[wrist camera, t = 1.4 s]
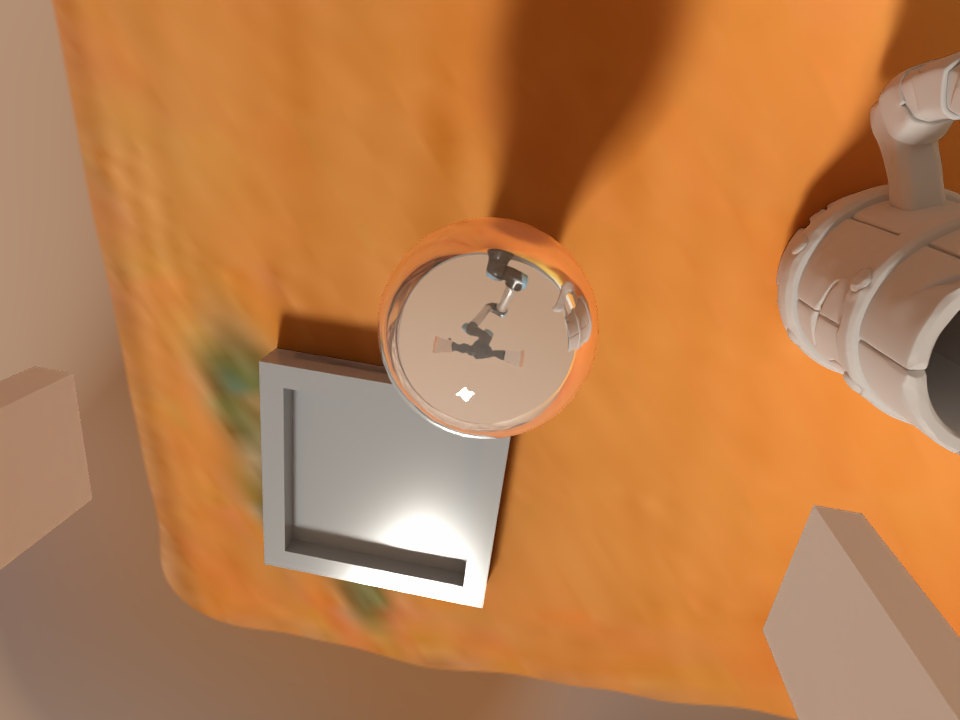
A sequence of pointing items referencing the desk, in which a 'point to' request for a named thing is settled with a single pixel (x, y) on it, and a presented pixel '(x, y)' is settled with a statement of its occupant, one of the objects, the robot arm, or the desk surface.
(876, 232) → the mug
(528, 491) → the desk surface
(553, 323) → the light bulb
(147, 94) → the desk surface
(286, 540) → the dish
